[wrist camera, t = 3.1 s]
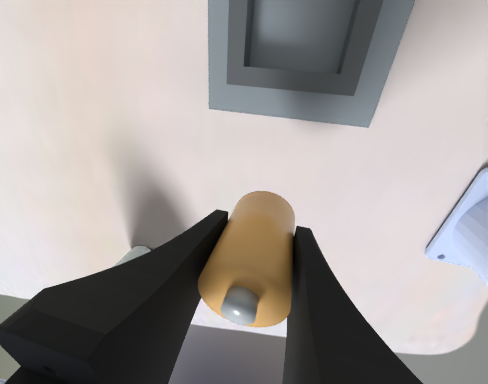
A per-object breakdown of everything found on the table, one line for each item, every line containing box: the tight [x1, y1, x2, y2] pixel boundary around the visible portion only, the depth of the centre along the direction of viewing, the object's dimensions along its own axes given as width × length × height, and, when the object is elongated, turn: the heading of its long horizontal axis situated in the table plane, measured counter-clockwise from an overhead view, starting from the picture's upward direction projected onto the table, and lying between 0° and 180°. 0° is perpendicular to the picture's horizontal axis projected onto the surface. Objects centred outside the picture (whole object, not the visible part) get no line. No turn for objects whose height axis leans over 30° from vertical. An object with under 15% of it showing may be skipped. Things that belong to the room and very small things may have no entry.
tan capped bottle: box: [198, 191, 295, 327], centre depth 9 cm, size 3×3×6 cm
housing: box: [208, 0, 415, 128], centre depth 11 cm, size 11×11×2 cm
